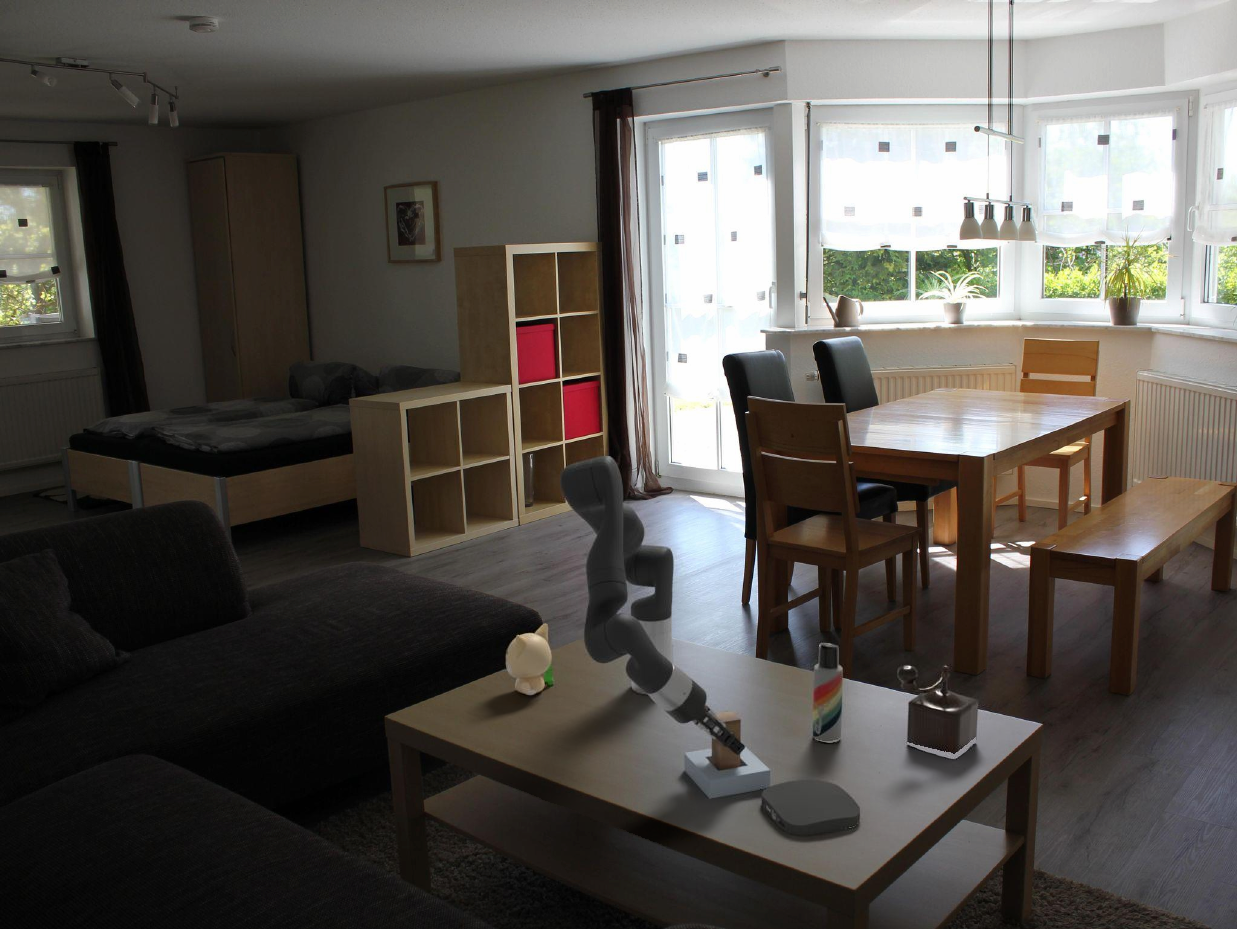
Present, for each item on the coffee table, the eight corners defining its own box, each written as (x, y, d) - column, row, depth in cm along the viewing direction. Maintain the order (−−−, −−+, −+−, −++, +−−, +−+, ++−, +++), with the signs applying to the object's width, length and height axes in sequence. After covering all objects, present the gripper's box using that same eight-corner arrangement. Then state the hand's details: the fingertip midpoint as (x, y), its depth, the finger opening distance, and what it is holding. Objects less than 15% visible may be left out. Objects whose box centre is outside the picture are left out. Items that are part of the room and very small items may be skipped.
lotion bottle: (807, 738, 216) (808, 644, 213) (822, 729, 220) (824, 637, 217) (831, 746, 212) (833, 650, 209) (846, 737, 216) (849, 643, 213)
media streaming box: (868, 827, 182) (868, 811, 182) (789, 841, 178) (790, 824, 177) (828, 788, 196) (828, 773, 195) (754, 800, 192) (754, 785, 191)
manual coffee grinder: (926, 728, 220) (929, 645, 217) (977, 743, 213) (982, 657, 210) (889, 753, 209) (892, 666, 206) (943, 770, 202) (947, 680, 199)
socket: (684, 770, 203) (684, 752, 202) (741, 760, 207) (741, 743, 206) (709, 798, 192) (709, 780, 191) (770, 787, 196) (770, 769, 195)
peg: (711, 764, 200) (711, 714, 198) (731, 761, 201) (731, 711, 200) (720, 773, 196) (720, 722, 195) (740, 770, 198) (740, 719, 196)
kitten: (535, 676, 252) (533, 615, 249) (568, 685, 246) (567, 622, 243) (492, 696, 240) (490, 632, 237) (526, 706, 234) (524, 641, 231)
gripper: (704, 690, 187) (766, 745, 193) (674, 663, 200) (732, 715, 206) (676, 723, 186) (739, 777, 192) (647, 693, 199) (707, 745, 205)
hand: (735, 745), depth 199 cm, fingers closed on peg, 4 cm apart
